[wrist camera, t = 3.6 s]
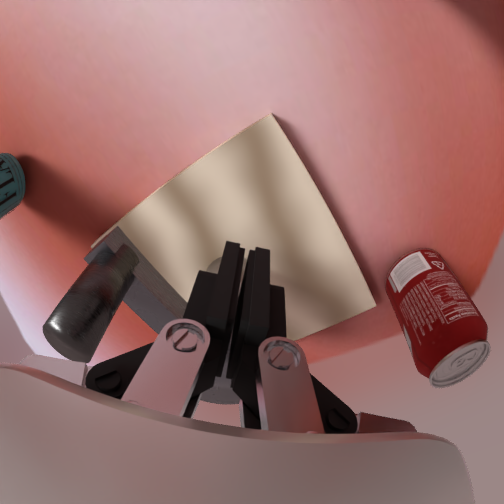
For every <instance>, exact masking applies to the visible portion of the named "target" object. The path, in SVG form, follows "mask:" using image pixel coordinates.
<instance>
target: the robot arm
mask: <svg viewBox="0 0 504 504" xmlns="http://www.w3.org/2000/svg"><path fill="white" fill-rule="evenodd" d="M244 254H245V248H241V247H240V243H235V242H230V241H226V244H225V248H224V251H223V255H222V259H221V263H220V267H219V270H218V274H216V273H211V272H207V271H202V270H199V272H198V274H197V277H196V280H195V283H194V286H193V289H192V291H191V294H190V297H189V300H188V303H187V306H186V309H185V312H184V315H183V318H182V319H177V320H173V321H171V322H169V323H167V324H166V325H165V326H164V327H163V329H162V330H161V332H160V334H159V335H158V337H157V339H156V340H155V342H153V343H150V344H148V345H145V346H143V347H140V348H137V349H135V350H132V351H130V352H127V353H125V354H122V355H119V356H117V357H114V358H112V359H109V360H106V361H104V362H101V363H99V364H97V365H95V366H93V367H91V366H87V365H86V363H83V362H76V361H70V360H64V359H58V358H52V357H47V356H42V355H29V356H27V357H25V358H24V359H23V360H22V361H21V362H20V364H14V363H0V504H475V500H474V495H473V490H472V484H471V479H470V475H469V472H468V468H467V465H466V462H465V460H464V457H463V455H462V453H461V451H460V450H459V448H458V447H457V446H456V445H455V444H454V443H452V442H450V441H448V440H447V439H444V438H442V437H439V436H435V435H432V434H427V433H419V432H417V430H416V429H415V427H414V426H413V425H412V424H411V423H410V422H407V421H404V420H398V419H393V418H388V417H382V416H378V415H373V414H368V413H364V412H360V413H359V414H355V413H354V412H353V411H352V410H351V409H350V408H349V407H348V406H347V405H346V404H345V403H344V402H342V401H341V400H340V399H339V398H338V397H337V396H335V395H334V394H333V393H332V392H331V391H330V390H328V389H327V388H326V387H325V386H324V385H323V384H322V383H321V382H319V381H318V380H317V379H316V378H315V377H314V376H313V375H311V374H310V372H309V368H308V364H307V360H306V356H305V354H304V351H303V349H302V348H301V347H300V346H299V345H298V344H297V343H296V342H294V341H293V340H291V339H288V338H287V333H286V309H285V290H284V287H281V286H276V285H271V284H270V250H269V249H264V248H260V247H256V248H255V250H249V254H248V258H247V262H246V266H245V271H244V275H243V279H242V283H241V287H240V281H241V274H242V267H243V261H244ZM239 288H240V292H239ZM238 295H239V296H238ZM232 330H233V331H232ZM231 334H232V338H231ZM230 338H231V345H230V352H229V358H228V365H227V372H226V378H227V379H231V386H230V388H233V389H232V390H233V391H234V392H235V393H236V395H237V396H238V397H239V398H240V400H239V409H240V421H241V427H235V426H228V425H222V424H216V423H210V422H205V421H200V420H195V419H193V416H194V413H195V411H196V408H197V406H198V403H199V401H200V398H201V395H202V392H204V391H206V390H208V389H210V388H212V387H213V386H214V381H215V377H221V376H222V371H223V367H224V363H225V359H226V355H227V351H228V347H229V343H230Z"/></svg>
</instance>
